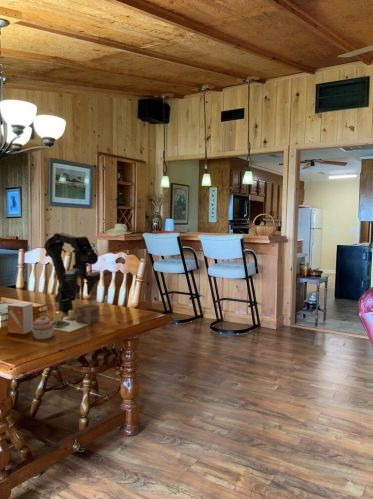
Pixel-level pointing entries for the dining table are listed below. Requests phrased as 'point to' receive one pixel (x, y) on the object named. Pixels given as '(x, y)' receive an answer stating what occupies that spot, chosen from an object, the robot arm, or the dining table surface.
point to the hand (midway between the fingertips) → (81, 294)
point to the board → (70, 323)
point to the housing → (87, 313)
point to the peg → (58, 318)
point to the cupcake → (43, 328)
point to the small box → (20, 318)
